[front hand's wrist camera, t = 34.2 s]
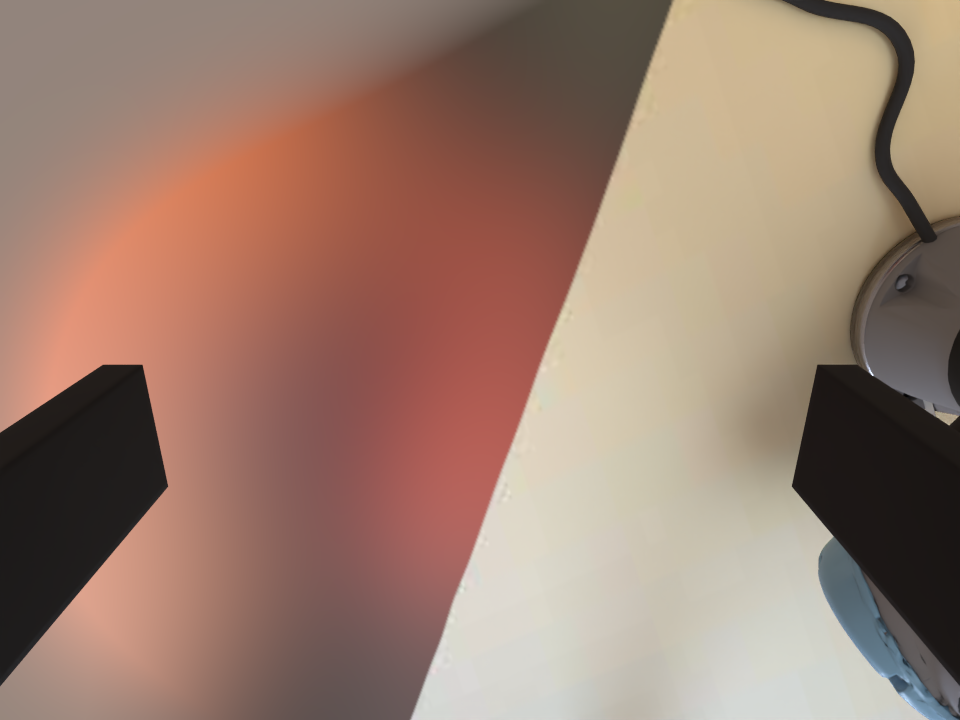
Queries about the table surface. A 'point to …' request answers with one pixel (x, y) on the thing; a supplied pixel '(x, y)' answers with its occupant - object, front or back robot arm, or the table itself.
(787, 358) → the table surface
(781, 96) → the table surface
